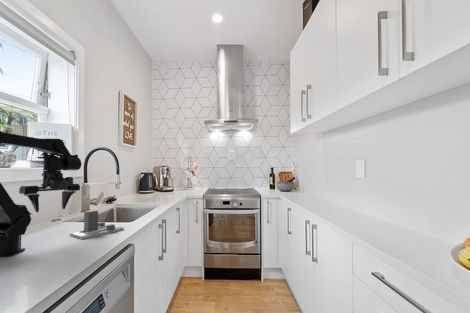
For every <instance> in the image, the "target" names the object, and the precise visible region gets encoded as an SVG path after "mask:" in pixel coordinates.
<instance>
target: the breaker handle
mask: <svg viewBox="0 0 470 313" xmlns="http://www.w3.org/2000/svg"><path fill="white" fill-rule="evenodd" d="M98 223H99V211H98V210H95V209H90V210H86V211H84V216H83V230H84V232H90V231H95V230H98Z"/></svg>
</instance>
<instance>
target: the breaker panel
mask: <svg viewBox="0 0 470 313" xmlns="http://www.w3.org/2000/svg"><path fill="white" fill-rule="evenodd" d="M124 229H125V228H124V227H123V226H121V225H116V224H114V223H110V224H106V222H105V221H101V222H98V230H95V231H90V232H84V229H82V230H79V231H74V232H70V233H69V236H70V237H72V238H76V239H77V240H81V241H84V240H87V239H90V238H95V237H99V236H103V235H108V234H113V233H117V232H120V231H124Z"/></svg>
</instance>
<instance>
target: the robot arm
mask: <svg viewBox="0 0 470 313" xmlns="http://www.w3.org/2000/svg"><path fill="white" fill-rule="evenodd" d="M0 145H5V146H12V147H13V146H14V147H20V148H21V147H22V148H26V149H27V148H28V149H32V150H33V149H34V150H36V151H39V152H42V153H41V154H40V155H38V156H37V157H36V158H37V159H39V160H42V159H43V170H42V173H41V177H42V183H40V186H38V185H34V184H33V185H29V184H28V185H21V186H20V187H19V188H18V189H19V191H18V194H21V195H23V196H25V197H27V198H28V199H29V200H30V202H31V205H32V206H33V209H34V210H35V213H39V211H40V204H39V203H40V202H39V198H40V193H39V192H49V191H50V192H51V191H62V192H61V196H62V197H61V208H62V210H65V209H66V207H67V204H68V202H69V201H70V198H72V197H71V196H73V194H76V193H77V191H81V186H80V184H79V183H75V182H74V177H73V176H66V177H64V173H62V171H78V170H80V169H81V168H82V164H83V163H82V161H81V158H80V157H79V154H71V153H70V151H69V149H68V147H66V145H65V142H64V140H63V139H61V138H40V137H39V138H38V137H33V136H26V135H22V134H15V133H9V132H5V131H1V130H0ZM31 215H32V213H31V212H30V211H29V210H28V208H27V206H26V205H25V204H17V203H15V202H14V200H13V198H12V197H11V196H10V194H9V193H8V192H7V190H6V189H5V187H4V185H3V184H2V183H1V182H0V257H11V256H13V255H14V256H15V255H17V254H18V253H21V252H23V251H25V250H26V248H24V247H23V248H22V235H25V234H26V231H27V229H28V227H29V226H30V224H31V221H32V216H31Z"/></svg>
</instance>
